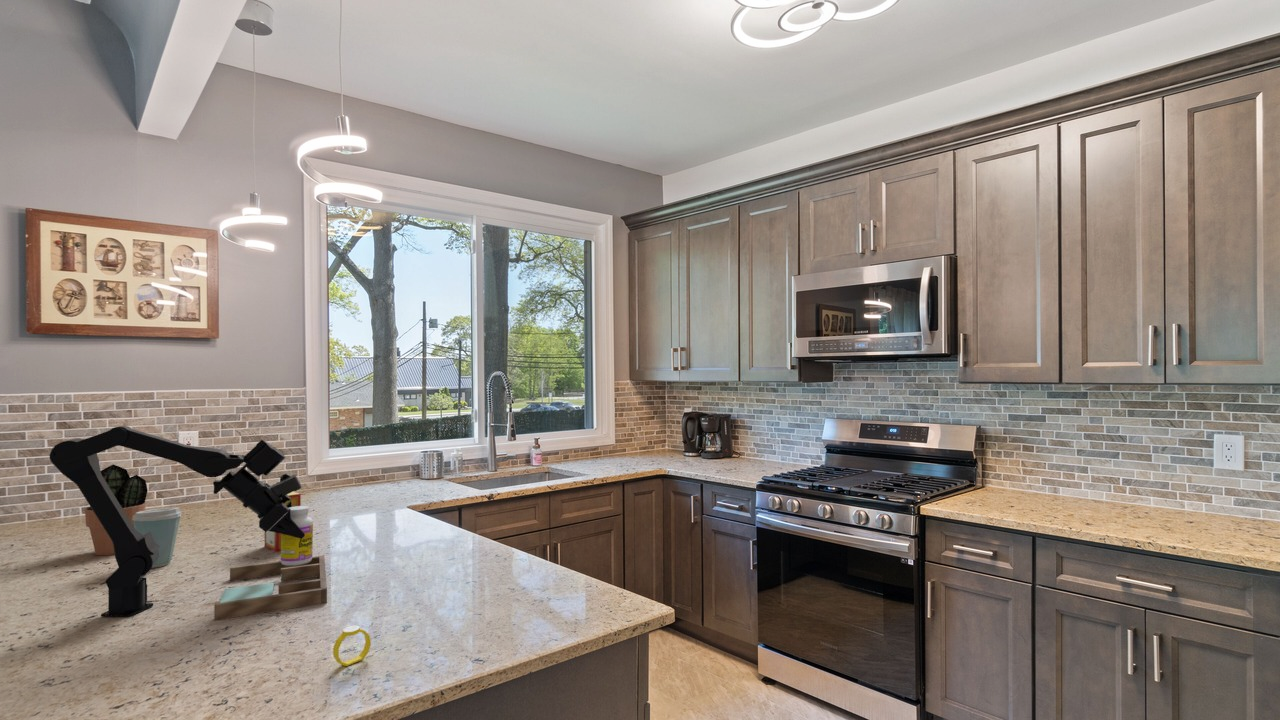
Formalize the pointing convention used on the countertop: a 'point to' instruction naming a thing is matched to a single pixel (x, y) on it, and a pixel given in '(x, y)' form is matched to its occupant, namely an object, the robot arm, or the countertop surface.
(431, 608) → the countertop surface
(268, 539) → the baking soda box
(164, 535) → the disposable coffee cup
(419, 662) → the countertop surface
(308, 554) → the supplement bottle
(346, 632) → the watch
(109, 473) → the potted plant
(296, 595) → the wooden compartment box
